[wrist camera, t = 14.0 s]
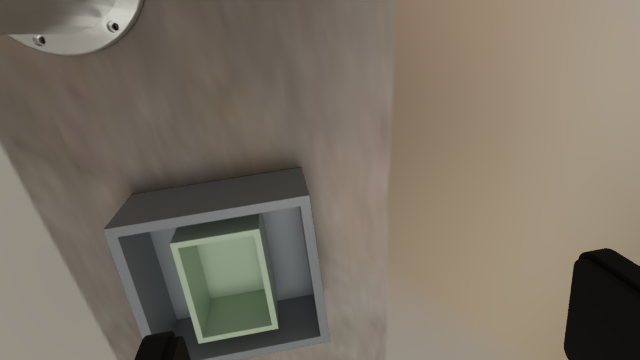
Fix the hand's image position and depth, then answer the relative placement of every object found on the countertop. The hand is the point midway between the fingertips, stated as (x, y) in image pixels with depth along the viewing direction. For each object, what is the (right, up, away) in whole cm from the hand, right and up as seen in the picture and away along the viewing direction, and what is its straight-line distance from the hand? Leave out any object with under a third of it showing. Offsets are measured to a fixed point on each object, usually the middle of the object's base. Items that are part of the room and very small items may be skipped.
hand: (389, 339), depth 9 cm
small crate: (-10, -3, +29) cm, 31 cm away
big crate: (-10, -3, +30) cm, 32 cm away
